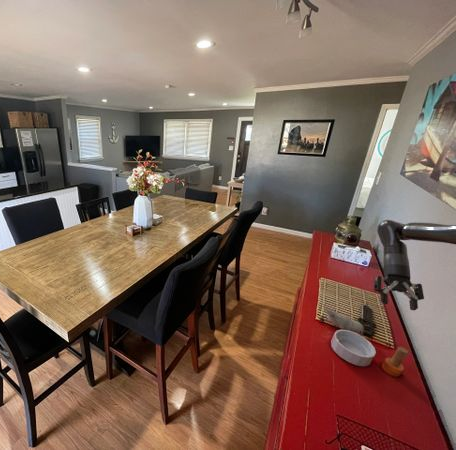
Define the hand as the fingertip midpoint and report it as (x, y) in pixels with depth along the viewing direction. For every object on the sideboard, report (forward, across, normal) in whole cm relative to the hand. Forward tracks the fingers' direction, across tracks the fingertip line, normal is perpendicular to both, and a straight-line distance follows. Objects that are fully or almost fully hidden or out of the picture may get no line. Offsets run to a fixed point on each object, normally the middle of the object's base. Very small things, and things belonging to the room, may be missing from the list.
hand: (399, 306), depth 91 cm
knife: (+2, +3, +30) cm, 30 cm away
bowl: (+20, -11, +12) cm, 26 cm away
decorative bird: (+10, -11, +22) cm, 27 cm away
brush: (+23, +1, +10) cm, 25 cm away
